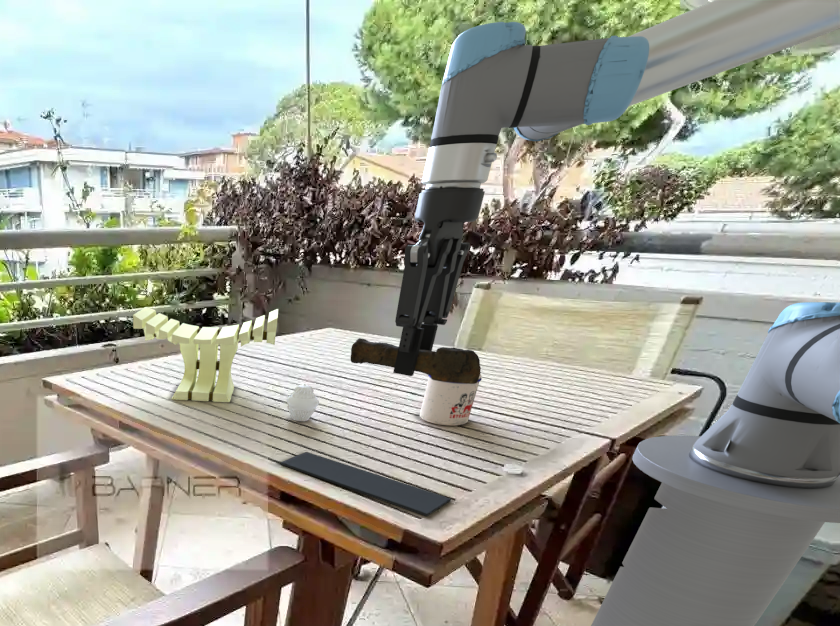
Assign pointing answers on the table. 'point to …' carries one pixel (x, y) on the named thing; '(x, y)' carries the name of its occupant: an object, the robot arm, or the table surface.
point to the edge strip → (368, 483)
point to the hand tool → (423, 361)
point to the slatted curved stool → (205, 351)
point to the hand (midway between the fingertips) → (410, 371)
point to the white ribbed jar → (302, 403)
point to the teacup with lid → (448, 402)
